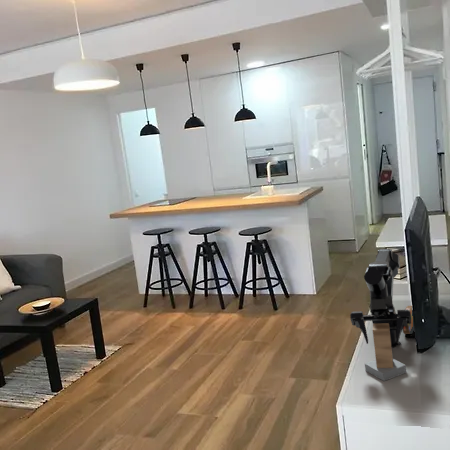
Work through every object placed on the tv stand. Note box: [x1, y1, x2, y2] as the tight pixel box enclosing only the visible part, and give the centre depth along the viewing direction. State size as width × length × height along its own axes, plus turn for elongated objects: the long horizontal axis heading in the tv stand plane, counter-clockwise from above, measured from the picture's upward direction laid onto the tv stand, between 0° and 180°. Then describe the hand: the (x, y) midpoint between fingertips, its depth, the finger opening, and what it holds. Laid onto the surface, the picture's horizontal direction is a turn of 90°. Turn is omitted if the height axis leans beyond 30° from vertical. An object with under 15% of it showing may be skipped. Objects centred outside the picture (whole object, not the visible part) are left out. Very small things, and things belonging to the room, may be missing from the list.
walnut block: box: [372, 323, 394, 368], centre depth 162 cm, size 5×5×13 cm
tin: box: [402, 305, 413, 336], centre depth 190 cm, size 15×3×8 cm, turn 147°
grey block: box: [364, 358, 407, 382], centre depth 163 cm, size 9×9×2 cm
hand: (382, 342), depth 160 cm, fingers open, 9 cm apart
